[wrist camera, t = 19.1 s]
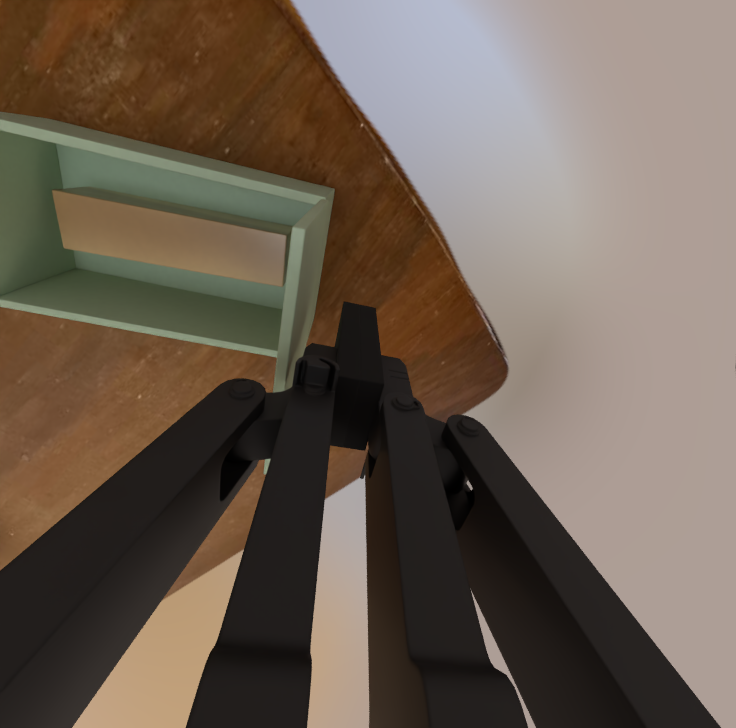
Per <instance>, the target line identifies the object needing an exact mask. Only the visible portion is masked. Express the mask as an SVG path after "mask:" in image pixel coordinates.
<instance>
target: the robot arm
mask: <svg viewBox="0 0 736 728" xmlns="http://www.w3.org/2000/svg"><path fill="white" fill-rule="evenodd" d="M367 442H368V446H369V449H368V453H367V456H366V460H365V463H364V466H363V470H362V473H361V477H360V478H361V479H363V478H364V475H365V482H366V483H365V485H366V539H367V541H366V542H367V596H368V597H367V598H368V648H369V649H368V652H369V706H370V707H369V710H370V711H369V712H370V713H369V728H528V726H527V722H526V719H525V716H524V713H523V709H522V706H521V703H520V700H519V698H518V695H517V693H516V690H515V687H514V686H513V684H512V683H511V681H510V680H509V678H508V677H507V675H506V674H504V673H502V672H501V671H499V670H497V669H496V668H494V667H493V665H492V663H491V662H490V659H489V657H488V654H487V651H486V647H485V644H484V639H483V635H482V632H481V628H480V624H479V620H478V616H477V612H476V608H475V605H474V601H473V597H472V593H473V595H474V597H475V599H476V601H477V603H478V605H479V607H480V609H481V612H482V614H483V616H484V618H485V620H486V622H487V624H488V626H489V628H490V631H491V633H492V635H493V637H494V639H495V641H496V643H497V646H498V648H499V650H500V652H501V654H502V656H503V658H504V660H505V663H506V664H507V667H508V669H509V671H510V673H511V675H512V677H513V679H514V681H515V684H516V685H517V688H518V690H519V692H520V694H521V696H522V699H523V701H524V703H525V705H526V707H527V709H528V711H529V713H530V716H531V718H532V720H533V722H534V724H535V726H536V728H721V727H720V726H719V725H718V723H717V722H716V721H715V720H714V718H713V717H712V716H711V714H710V713H709V712H708V711H707V709H706V708H705V707H704V705H703V704H702V703H701V702H700V700H699V699H698V698H697V697H696V695H695V694H694V693H693V691H692V690H691V689H690V688H689V686H688V685H687V684H686V683H685V681H684V680H683V679H682V678H681V676H680V675H679V674H678V672H677V671H676V670H675V669H674V667H673V666H672V665H671V663H670V662H669V661H668V660H667V659H666V657H665V656H664V655H663V653H662V652H661V651H660V649H659V648H658V647H657V646H656V644H655V643H654V642H653V640H652V639H651V638H650V637H649V635H648V634H647V633H646V632H645V630H644V629H643V628H642V626H641V625H640V624H639V623H638V621H637V620H636V619H635V618H634V616H633V615H632V614H631V612H630V611H629V610H628V609H627V607H626V606H625V605H624V604H623V602H622V601H621V600H620V598H619V597H618V596H617V595H616V593H615V592H614V591H613V590H612V588H611V587H610V586H609V584H608V583H607V582H606V581H605V579H604V578H603V577H602V575H601V574H600V573H599V572H598V571H597V570H596V568H595V567H594V566H593V564H592V563H591V561H590V560H589V559H588V558H587V556H586V555H585V554H584V553H583V551H582V550H581V549H580V547H579V546H578V545H577V544H576V542H575V541H574V540H573V539H572V537H571V536H570V535H569V534H568V532H567V531H566V530H565V528H564V527H563V526H562V524H561V523H560V522H559V521H558V520H557V518H556V517H555V516H554V514H553V513H552V512H551V510H550V509H549V508H548V507H547V505H546V504H545V503H544V502H543V500H542V499H541V498H540V497H539V495H538V494H537V493H536V492H535V490H534V489H533V488H532V487H531V485H530V484H529V483H528V481H527V480H526V479H525V477H524V476H523V475H522V473H521V472H520V471H519V470H518V469H517V467H516V466H515V465H514V463H513V462H512V461H511V459H510V458H509V457H508V456H507V454H506V453H505V452H504V451H503V449H502V448H501V447H500V446H499V445H498V443H497V442H496V440H495V439H494V438H493V437H492V435H491V434H490V433H489V432H488V430H487V429H486V428H485V427H484V426H483V425H482V424H481V423H480V422H478V421H477V420H475V419H474V418H471V417H468V416H464V415H452V416H451V417H449V418H448V420H447V422H446V423H444V422H441V421H439V420H436V419H433V418H431V417H429V416H427V415H426V414H425V412H424V408H423V406H422V404H421V403H420V402H419V401H418V400H417V399H416V398H414V397H413V395H412V390H411V386H410V382H409V377H408V374H407V369H406V366H405V364H404V363H403V362H402V361H401V360H400V359H399V358H393V357H388V356H383V355H381V351H380V342H379V333H378V325H377V316H376V308H373V307H368V306H363V305H358V304H354V303H349V302H344V303H343V308H342V313H341V318H340V323H339V328H338V333H337V338H336V343H335V347H330V346H325V345H320V344H314V343H312V344H310V345H309V346H307V347H306V348H305V351H304V354H303V357H300V358H298V360H297V361H296V364H295V370H294V377H293V384H292V387H291V388H289V389H287V390H285V391H281V392H273V393H266V391H265V388H264V387H263V386H262V385H261V384H260V383H258V382H256V381H254V380H249V379H232V380H228V381H226V382H224V383H222V384H220V385H219V386H218V387H217V388H216V389H214V390H213V391H212V392H211V393H210V394H208V395H207V396H206V397H205V398H204V399H203V400H201V401H200V402H199V403H198V404H197V405H195V406H194V407H193V408H192V409H191V410H190V411H188V412H187V413H186V414H185V415H184V416H182V417H181V418H180V419H179V420H178V421H177V422H175V423H174V424H173V425H172V426H171V427H169V428H168V429H167V430H166V431H165V432H164V433H162V434H161V435H160V436H159V437H158V438H157V439H155V440H154V441H153V442H152V443H151V444H149V445H148V446H147V447H146V448H145V449H144V450H142V451H141V452H140V453H139V454H138V455H136V456H135V457H134V458H133V459H132V460H131V461H129V462H128V463H127V464H126V465H125V466H123V467H122V468H121V469H120V470H119V471H118V472H116V473H115V474H114V475H113V476H112V477H110V478H109V479H108V480H107V481H106V482H105V483H103V484H102V485H101V486H100V487H99V488H97V489H96V490H95V491H94V492H93V493H92V494H90V495H89V496H88V497H87V498H86V499H85V500H83V501H82V502H81V503H80V504H79V505H77V506H76V507H75V508H74V509H73V510H72V511H70V512H69V513H68V514H67V515H66V516H64V517H63V518H62V519H61V520H60V521H59V522H57V523H56V524H55V525H54V526H53V527H51V528H50V529H49V530H48V531H47V532H46V533H44V534H43V535H42V536H41V537H40V538H38V539H37V540H36V541H35V542H34V543H33V544H31V545H30V546H29V547H28V548H27V549H25V550H24V551H23V552H22V553H21V554H20V555H18V556H17V557H16V558H15V559H14V560H12V561H11V562H10V563H9V564H8V565H7V566H5V567H4V568H3V569H2V570H1V571H0V728H72V727H73V725H74V724H75V723H76V721H77V720H78V718H79V717H80V715H81V714H82V713H83V711H84V710H85V708H86V707H87V706H88V704H89V703H90V701H91V700H92V698H93V697H94V696H95V694H96V693H97V691H98V690H99V689H100V687H101V686H102V684H103V683H104V681H105V680H106V678H107V677H108V676H109V674H110V673H111V671H112V670H113V669H114V667H115V666H116V664H117V663H118V661H119V660H120V659H121V657H122V655H123V654H124V653H125V651H126V650H127V649H128V647H129V646H130V645H131V643H132V642H133V640H134V639H135V637H136V636H137V635H138V633H139V632H140V630H141V629H142V628H143V626H144V625H145V623H146V622H147V620H148V619H149V618H150V616H151V615H152V613H153V612H154V611H155V609H156V608H157V606H158V605H159V603H160V602H161V601H162V599H163V598H164V596H165V595H166V594H167V592H168V591H169V589H170V588H171V586H172V585H173V584H174V582H175V581H176V579H177V578H178V577H179V575H180V574H181V572H182V571H183V569H184V568H185V567H186V565H187V564H188V562H189V561H190V560H191V558H192V557H193V555H194V554H195V552H196V551H197V550H198V548H199V547H200V545H201V544H202V543H203V541H204V540H205V538H206V537H207V535H208V534H209V533H210V531H211V530H212V528H213V527H214V526H215V524H216V523H217V521H218V520H219V518H220V517H221V516H222V514H223V513H224V511H225V510H226V509H227V507H228V506H229V504H230V503H231V501H232V500H233V499H234V497H235V496H236V494H237V493H238V491H239V490H240V489H241V487H242V486H243V484H244V483H245V482H246V480H247V479H248V477H249V476H250V474H251V473H252V472H253V470H254V469H255V467H256V466H257V464H258V461H259V460H264V459H271V460H270V463H269V466H268V470H267V473H266V477H265V480H264V483H263V487H262V490H261V494H260V497H259V501H258V504H257V507H256V511H255V514H254V518H253V521H252V524H251V528H250V531H249V535H248V538H247V541H246V545H245V548H244V552H243V555H242V559H241V562H240V566H239V569H238V572H237V576H236V579H235V582H234V586H233V589H232V593H231V596H230V599H229V603H228V606H227V610H226V613H225V617H224V620H223V623H222V627H221V630H220V633H219V636H218V639H217V642H216V644H215V646H214V648H213V649H212V651H211V652H210V654H209V657H208V660H207V662H206V664H205V667H204V670H203V673H202V677H201V679H200V683H199V686H198V689H197V692H196V696H195V699H194V702H193V706H192V709H191V712H190V715H189V719H188V722H187V725H186V728H307V720H308V709H309V698H310V686H311V671H312V659H311V654H310V645H311V633H312V622H313V612H314V603H315V592H316V582H317V571H318V561H319V552H320V551H319V550H320V541H321V530H322V521H323V511H324V500H325V491H326V480H327V470H328V460H329V450H330V445H331V446H338V447H344V448H351V449H357V450H364V451H365V449H366V446H367ZM468 480H469V482H470V484H471V485H472V487H473V489H472V491H471V490H470V488H469V487H468V485H467V484H466V483H467V481H468ZM470 588H471V589H470ZM471 590H472V593H471Z"/></svg>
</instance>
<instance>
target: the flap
mask: <svg viewBox="0 0 736 728" xmlns="http://www.w3.org/2000/svg"><path fill="white" fill-rule="evenodd" d="M328 202H329V201H328V200H324V199H321V200H320V201H319V202H318V203H317V204H316V205H315V206H314V207H312V208H311V209H310V210H309V211H308V212H307V213H306V214H305V215H304V216H303V217H302V218H301V219H300V220H299V221H298V222H297V223H296V224H295V225H294V226H293V227H292V232H291V241H290V249H289V258H288V267H287V275H286V284H285V293H284V301H283V310H282V318H281V327H280V336H279V344H278V353H277V362H276V370H275V379H274V387H273V392H281V391H285V390H287V389H289V388H291V387H292V384H293V377H294V370H295V364H296V361H297V360H298V358H300V357H303V354H304V351H305V348H306V342H307V336H308V330H309V323H310V317H311V310H312V304H313V298H314V291H315V285H316V279H317V272H318V266H319V259H320V253H321V247H322V240H323V234H324V228H325V221H326V215H327V208H328ZM270 460H271V459H265V465H264V474H266V473H267V470H268V466H269V463H270Z"/></svg>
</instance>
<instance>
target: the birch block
mask: <svg viewBox="0 0 736 728" xmlns="http://www.w3.org/2000/svg"><path fill="white" fill-rule="evenodd" d="M52 195H53V199H54V204H55V209H56V214H57V219H58V223H59V228H60V233H61V238H62V242H63V247H64V248H65V249H70V250H76V251H81V252H87V253H93V254H98V255H104V256H110V257H115V258H121V259H127V260H132V261H138V262H143V263H149V264H155V265H160V266H166V267H172V268H177V269H183V270H189V271H194V272H200V273H205V274H211V275H217V276H222V277H228V278H234V279H239V280H245V281H251V282H256V283H262V284H267V285H273V286H279V287H283V286H284V284H285V283H286V275H287V267H288V258H289V249H290V241H291V232H292V227H293V226H289V225H284V224H279V223H274V222H269V221H264V220H259V219H253V218H248V217H243V216H238V215H233V214H228V213H223V212H218V211H213V210H208V209H202V208H197V207H192V206H187V205H182V204H177V203H172V202H167V201H162V200H157V199H151V198H146V197H141V196H136V195H131V194H126V193H121V192H116V191H111V190H106V189H100V188H95V187H90V186H89V187H77V188H65V189H53V190H52Z"/></svg>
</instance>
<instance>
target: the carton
mask: <svg viewBox="0 0 736 728" xmlns="http://www.w3.org/2000/svg"><path fill="white" fill-rule="evenodd" d="M89 186H90V187H95V188H100V189H106V190H111V191H116V192H121V193H126V194H131V195H136V196H141V197H146V198H151V199H157V200H162V201H167V202H172V203H177V204H182V205H187V206H192V207H197V208H202V209H208V210H213V211H218V212H223V213H228V214H233V215H238V216H243V217H248V218H253V219H259V220H264V221H269V222H274V223H279V224H284V225H289V226H294V225H295V224H296V223H297V222H298V221H299V220H300V219H301V218H302V217H303V216H304V215H305V214H306V213H307V212H308V211H309V210H310V209H311V208H312V207H314V206H315V205H316V204H317V203H318V202H319V201H320V200H321V199H324V200H328V201H329V202H328V208H327V215H326V221H325V228H324V234H323V240H322V247H321V253H320V259H319V266H318V272H317V279H316V285H315V291H314V298H313V304H312V310H311V317H310V323H309V330H308V336H307V340H308V337H309V333H310V330H311V327H312V323H313V320H314V315H315V309H316V303H317V297H318V290H319V284H320V278H321V272H322V266H323V260H324V253H325V247H326V241H327V235H328V229H329V223H330V216H331V210H332V204H333V198H334V192H335V189H334V188H330V187H326V186H322V185H317V184H313V183H309V182H305V181H301V180H297V179H293V178H289V177H285V176H281V175H277V174H273V173H268V172H264V171H260V170H256V169H252V168H248V167H244V166H240V165H236V164H232V163H228V162H224V161H220V160H215V159H211V158H207V157H203V156H199V155H195V154H191V153H187V152H183V151H179V150H175V149H171V148H166V147H162V146H158V145H154V144H150V143H146V142H142V141H138V140H134V139H130V138H126V137H122V136H118V135H113V134H109V133H105V132H101V131H97V130H93V129H89V128H85V127H81V126H77V125H73V124H69V123H64V122H60V121H56V120H52V119H47V118H40V117H33V116H26V115H19V114H12V113H5V112H0V307H5V308H11V309H16V310H21V311H27V312H32V313H38V314H43V315H49V316H54V317H60V318H65V319H70V320H76V321H81V322H87V323H92V324H98V325H103V326H109V327H114V328H119V329H125V330H130V331H136V332H141V333H147V334H152V335H158V336H163V337H168V338H174V339H179V340H185V341H190V342H196V343H201V344H207V345H212V346H217V347H223V348H228V349H234V350H239V351H245V352H250V353H256V354H261V355H266V356H272V357H277V353H278V344H279V336H280V327H281V318H282V310H283V301H284V293H285V284H286V283H285V284H284V286H283V287H279V286H273V285H267V284H262V283H256V282H251V281H245V280H239V279H234V278H228V277H222V276H217V275H211V274H205V273H200V272H194V271H189V270H183V269H177V268H172V267H166V266H160V265H155V264H149V263H143V262H138V261H132V260H127V259H121V258H115V257H110V256H104V255H98V254H93V253H87V252H81V251H76V250H70V249H65V248H64V247H63V242H62V238H61V233H60V228H59V223H58V219H57V214H56V209H55V204H54V199H53V195H52V190H53V189H65V188H77V187H89ZM306 343H307V342H306Z"/></svg>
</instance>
